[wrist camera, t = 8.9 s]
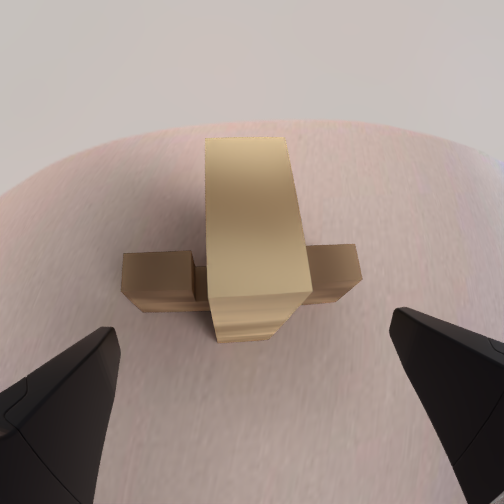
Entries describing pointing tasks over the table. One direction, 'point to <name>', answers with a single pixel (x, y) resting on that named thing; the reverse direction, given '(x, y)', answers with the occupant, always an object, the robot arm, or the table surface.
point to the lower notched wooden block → (196, 286)
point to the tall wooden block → (252, 238)
